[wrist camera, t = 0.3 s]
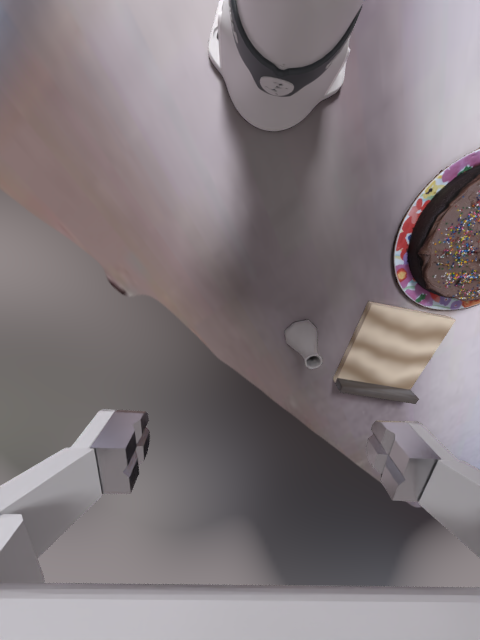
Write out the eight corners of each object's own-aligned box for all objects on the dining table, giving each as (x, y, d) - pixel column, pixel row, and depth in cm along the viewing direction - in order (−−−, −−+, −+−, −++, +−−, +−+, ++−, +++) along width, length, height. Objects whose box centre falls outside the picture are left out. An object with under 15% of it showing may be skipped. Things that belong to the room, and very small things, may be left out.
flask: (322, 339, 52) (340, 368, 43) (292, 353, 53) (303, 383, 44) (309, 313, 49) (325, 337, 40) (278, 329, 51) (286, 355, 42)
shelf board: (368, 301, 48) (380, 310, 44) (449, 316, 49) (468, 326, 45) (332, 379, 57) (339, 393, 52) (402, 390, 58) (414, 404, 54)
